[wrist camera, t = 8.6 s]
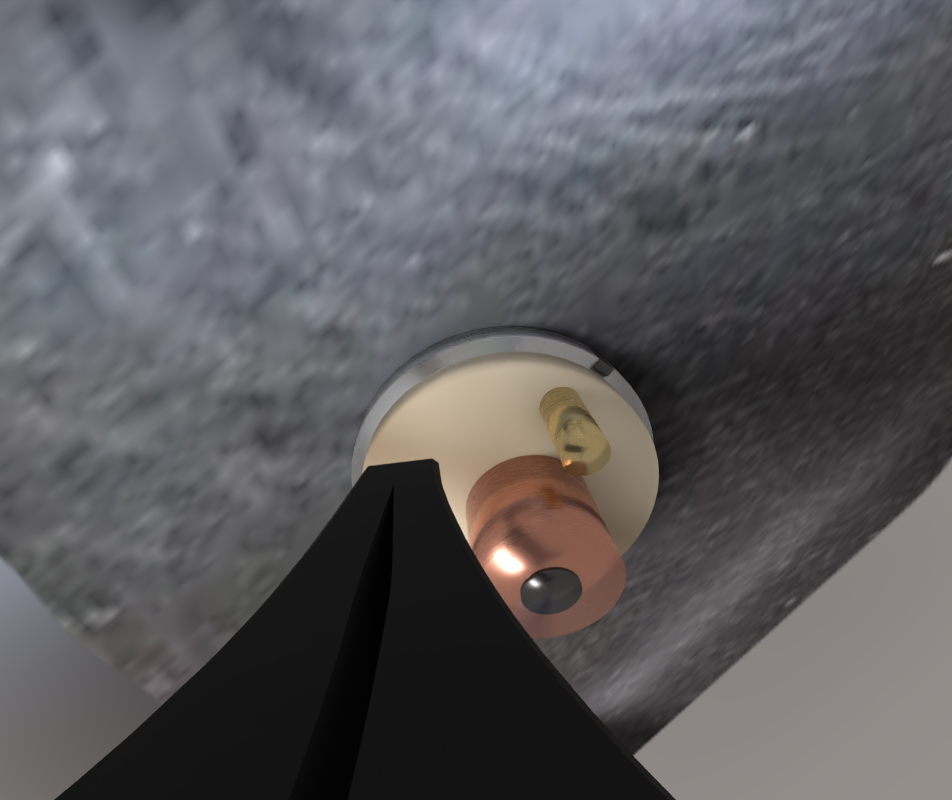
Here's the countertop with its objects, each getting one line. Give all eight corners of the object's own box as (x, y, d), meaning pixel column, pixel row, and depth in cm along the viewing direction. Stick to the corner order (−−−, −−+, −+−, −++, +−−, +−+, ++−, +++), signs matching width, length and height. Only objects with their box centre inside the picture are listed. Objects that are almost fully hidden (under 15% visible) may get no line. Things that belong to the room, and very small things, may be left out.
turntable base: (631, 548, 19) (640, 567, 18) (384, 580, 19) (381, 602, 18) (655, 309, 14) (671, 319, 14) (323, 345, 14) (316, 359, 13)
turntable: (571, 597, 19) (601, 689, 16) (336, 555, 17) (312, 652, 13) (696, 399, 15) (771, 468, 12) (408, 310, 13) (400, 363, 9)
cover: (560, 560, 16) (589, 651, 13) (450, 541, 15) (454, 634, 12) (609, 469, 14) (655, 550, 11) (488, 442, 14) (504, 522, 11)
